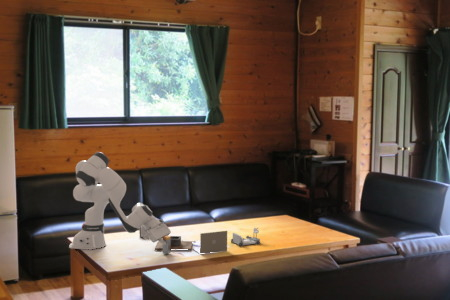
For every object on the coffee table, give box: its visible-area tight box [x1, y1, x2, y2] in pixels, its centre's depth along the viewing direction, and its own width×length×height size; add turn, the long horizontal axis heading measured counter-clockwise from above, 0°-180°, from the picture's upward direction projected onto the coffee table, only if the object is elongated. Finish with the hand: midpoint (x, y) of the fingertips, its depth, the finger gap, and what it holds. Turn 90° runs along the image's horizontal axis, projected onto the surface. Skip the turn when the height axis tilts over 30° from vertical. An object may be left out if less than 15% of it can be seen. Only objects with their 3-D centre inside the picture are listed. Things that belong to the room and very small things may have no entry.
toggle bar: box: [162, 235, 172, 255], centre depth 365 cm, size 4×4×10 cm
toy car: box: [230, 227, 261, 248], centre depth 393 cm, size 18×10×12 cm
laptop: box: [199, 230, 228, 254], centre depth 374 cm, size 18×12×13 cm
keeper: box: [154, 235, 194, 251], centre depth 381 cm, size 22×18×6 cm
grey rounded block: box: [138, 225, 149, 239], centre depth 409 cm, size 17×5×10 cm, turn 126°
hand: (167, 243), depth 364 cm, fingers closed on toggle bar, 3 cm apart
